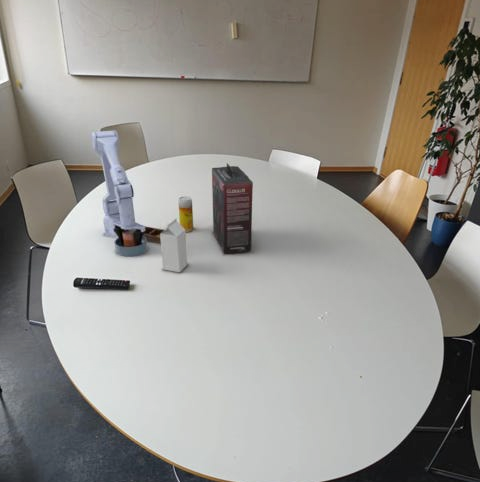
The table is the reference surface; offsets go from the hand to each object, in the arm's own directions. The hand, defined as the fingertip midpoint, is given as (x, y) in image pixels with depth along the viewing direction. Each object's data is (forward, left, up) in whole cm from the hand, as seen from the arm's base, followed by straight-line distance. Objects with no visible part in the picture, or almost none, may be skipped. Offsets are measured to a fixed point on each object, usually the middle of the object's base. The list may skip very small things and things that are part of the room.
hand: (131, 244), depth 180 cm
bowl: (0, 0, -3) cm, 3 cm away
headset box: (+35, +25, -3) cm, 43 cm away
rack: (+2, +14, -3) cm, 14 cm away
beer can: (+11, +29, -3) cm, 31 cm away
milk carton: (+24, -6, -3) cm, 25 cm away
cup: (0, 0, -2) cm, 2 cm away
